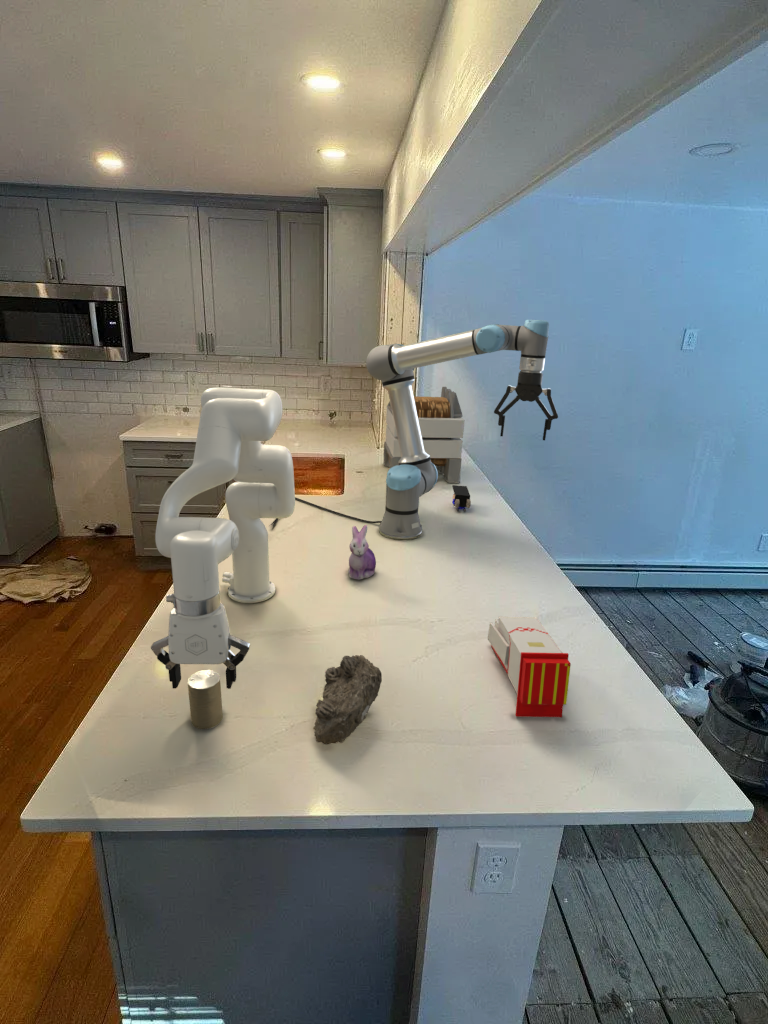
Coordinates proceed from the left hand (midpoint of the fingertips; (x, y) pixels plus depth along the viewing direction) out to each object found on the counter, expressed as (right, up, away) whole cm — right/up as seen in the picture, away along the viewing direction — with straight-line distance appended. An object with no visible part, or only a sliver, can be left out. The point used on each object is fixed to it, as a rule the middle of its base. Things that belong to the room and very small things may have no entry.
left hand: (203, 684), depth 104 cm
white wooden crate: (+50, +51, +171) cm, 185 cm away
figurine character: (+64, +33, +125) cm, 144 cm away
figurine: (+27, +13, +64) cm, 71 cm away
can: (0, -8, +3) cm, 8 cm away
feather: (-5, +30, +106) cm, 110 cm away
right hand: (+79, +56, +82) cm, 127 cm away
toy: (+63, -4, +20) cm, 67 cm away
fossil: (+26, -7, +7) cm, 28 cm away
